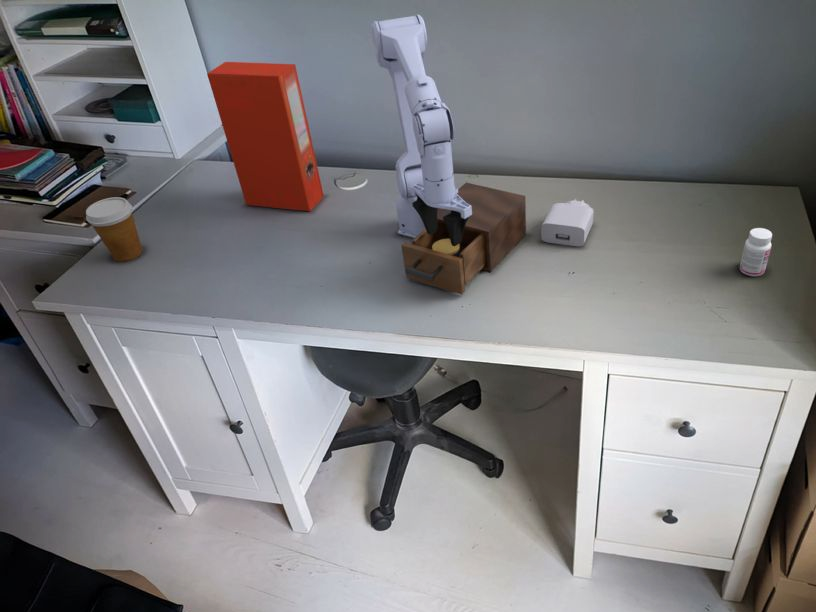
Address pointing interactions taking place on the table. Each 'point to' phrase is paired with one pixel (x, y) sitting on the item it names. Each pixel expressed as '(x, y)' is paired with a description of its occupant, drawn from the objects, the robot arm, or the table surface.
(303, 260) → the table surface
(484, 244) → the drawer
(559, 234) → the charger
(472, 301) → the table surface
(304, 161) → the file binder
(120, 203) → the disposable coffee cup
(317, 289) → the table surface
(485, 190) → the cabinet
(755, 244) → the pill bottle
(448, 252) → the tin
